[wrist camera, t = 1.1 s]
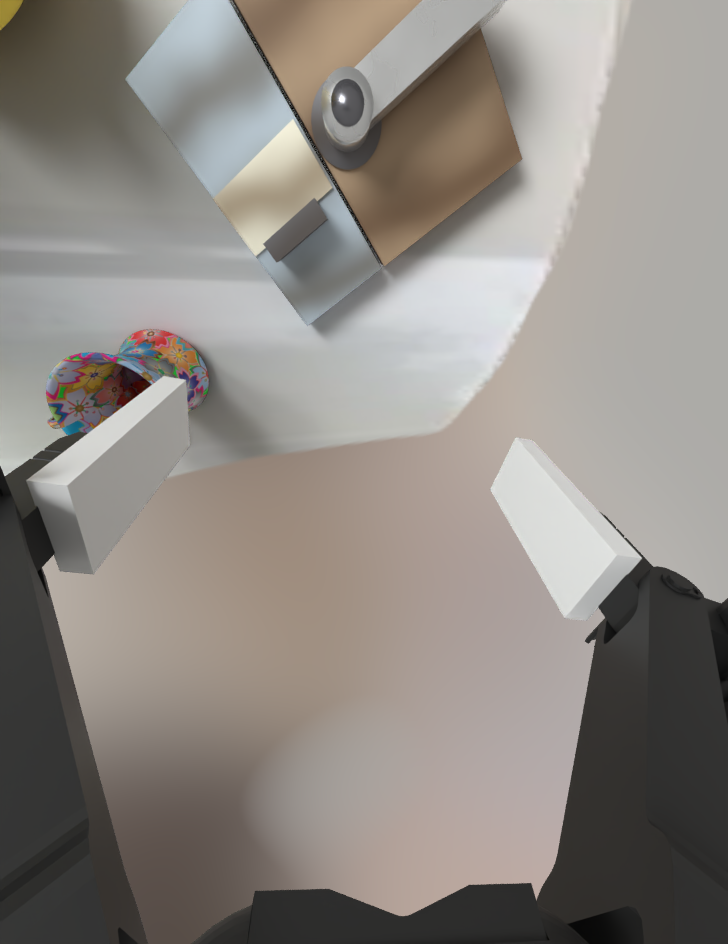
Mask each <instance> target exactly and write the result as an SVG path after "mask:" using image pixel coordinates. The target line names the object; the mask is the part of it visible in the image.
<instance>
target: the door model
mask: <svg viewBox="0 0 728 944" xmlns="http://www.w3.org/2000/svg"><path fill="white" fill-rule="evenodd" d="M421 1H422V0H233V2H234V4H235V5H236V7H237V9H238V11H239V12H240V14H241V16H242V18H243V19H244V21H245V23H246V25H247V26H248V28H249V30H250V32H251V34H252V35H253V37H254V39H255V41H256V42H257V44H258V46H259V48H260V49H261V51H262V53H263V55H264V57H265V58H266V60H267V62H268V64H269V65H270V67H271V69H272V71H273V72H274V74H275V76H276V78H277V79H278V81H279V83H280V85H281V87H282V88H283V90H284V92H285V94H286V95H287V97H288V99H289V101H290V102H291V104H292V106H293V108H294V110H295V111H296V113H297V115H298V117H299V118H300V120H301V122H302V124H303V125H304V127H305V129H306V131H307V133H308V134H309V136H310V138H311V140H312V141H313V143H314V145H315V147H316V148H317V150H318V152H319V154H320V155H321V157H322V159H323V161H324V163H325V164H326V166H327V168H328V170H329V171H330V173H331V175H332V177H333V178H334V180H335V182H336V184H337V186H338V187H339V189H340V191H341V193H342V194H343V196H344V198H345V200H346V201H347V203H348V205H349V207H350V208H351V210H352V212H353V214H354V216H355V217H356V219H357V221H358V223H359V224H360V226H361V228H362V230H363V231H364V233H365V235H366V237H367V239H368V240H369V242H370V244H371V246H372V247H373V249H374V251H375V253H376V254H377V256H378V258H379V260H380V262H381V263H382V265H384V266H385V265H387V264H388V263H389V262H391V261H392V260H393V259H394V258H396V257H397V256H398V255H399V254H401V253H402V252H403V251H405V250H406V249H407V248H408V247H410V246H411V245H412V244H414V243H415V242H416V241H417V240H419V239H420V238H421V237H423V236H424V235H425V234H426V233H428V232H429V231H430V230H432V229H433V228H434V227H435V226H437V225H438V224H439V223H441V222H442V221H443V220H444V219H446V218H447V217H448V216H450V215H451V214H452V213H453V212H455V211H456V210H457V209H459V208H460V207H461V206H462V205H464V204H465V203H466V202H468V201H469V200H470V199H471V198H473V197H474V196H475V195H477V194H478V193H479V192H480V191H482V190H483V189H484V188H486V187H487V186H488V185H489V184H491V183H492V182H493V181H495V180H496V179H497V178H498V177H500V176H501V175H502V174H504V173H505V172H506V171H507V170H509V169H510V168H511V167H513V166H514V165H515V164H516V163H518V162H519V161H520V160H522V157H521V154H520V151H519V147H518V144H517V141H516V138H515V135H514V132H513V129H512V125H511V122H510V119H509V116H508V113H507V110H506V107H505V103H504V100H503V97H502V94H501V91H500V88H499V85H498V81H497V78H496V75H495V72H494V69H493V66H492V63H491V59H490V56H489V53H488V50H487V47H486V44H485V41H484V37H483V34H482V31H481V29H480V30H479V31H478V32H476V33H475V34H474V35H473V36H472V37H471V38H470V39H469V40H468V41H467V42H465V43H464V44H463V45H462V46H461V47H460V48H459V49H458V50H457V51H456V52H455V53H453V54H452V55H451V56H450V57H449V58H448V59H447V60H446V61H445V62H444V63H443V64H441V65H440V66H439V67H438V68H437V69H436V70H435V71H434V72H433V73H432V74H431V75H429V76H428V77H427V78H426V79H425V80H424V81H423V82H422V83H421V84H420V85H419V86H417V87H416V88H415V89H414V90H413V91H412V92H411V93H410V94H409V95H408V96H407V97H405V98H404V99H403V100H402V101H401V102H400V103H399V104H398V105H397V106H396V107H395V108H393V109H392V110H391V111H390V112H389V113H388V114H387V115H386V116H385V117H384V118H383V119H381V120H380V121H379V122H378V123H377V124H376V125H375V126H374V127H373V128H372V129H371V130H369V131H368V134H367V137H366V139H365V141H364V143H363V144H362V145H361V147H360V148H358V149H357V150H355V151H353V152H342V151H340V150H338V149H336V148H335V147H334V146H333V145H332V144H331V142H330V141H329V139H328V137H327V135H326V132H325V127H324V120H323V114H322V107H321V97H322V91H323V87H324V84H325V82H326V80H327V78H328V77H329V76H330V74H331V73H332V72H333V71H335V70H336V69H338V68H340V67H353V68H354V67H355V66H356V65H357V64H358V63H359V62H360V61H361V60H362V59H363V58H364V57H365V56H366V55H367V54H368V53H369V52H370V51H371V50H372V49H373V48H374V47H375V46H376V45H378V44H379V43H380V42H381V41H382V40H383V39H384V38H385V37H386V36H387V35H388V34H389V33H390V32H391V31H392V30H393V29H394V28H395V27H396V26H397V25H398V24H399V23H400V22H401V21H402V20H403V19H404V18H405V17H406V16H407V15H408V14H409V13H410V12H411V11H412V10H413V9H414V8H415V7H416V6H417V5H418V4H419V3H420V2H421ZM125 80H126V81H127V82H128V84H129V85H130V86H131V88H132V89H133V91H134V92H135V93H136V95H137V96H138V97H139V99H140V100H141V101H142V103H143V104H144V105H145V107H146V108H147V110H148V111H149V112H150V114H151V115H152V116H153V118H154V119H155V120H156V122H157V123H158V124H159V126H160V127H161V129H162V130H163V131H164V133H165V134H166V135H167V137H168V138H169V139H170V141H171V142H172V143H173V145H174V146H175V148H176V149H177V150H178V152H179V153H180V154H181V156H182V157H183V158H184V160H185V161H186V162H187V164H188V165H189V166H190V168H191V169H192V171H193V172H194V173H195V175H196V176H197V177H198V179H199V180H200V181H201V183H202V184H203V185H204V187H205V188H206V190H207V191H208V192H209V194H210V195H211V196H212V198H213V200H214V201H215V203H216V204H217V205H218V207H219V208H220V209H221V211H222V212H223V213H224V215H225V216H226V217H227V219H228V220H229V222H230V223H231V224H232V226H233V227H234V228H235V230H236V231H237V232H238V234H239V235H240V236H241V238H242V239H243V240H244V242H245V243H246V245H247V246H248V247H249V249H250V250H251V251H252V253H253V254H254V255H255V257H257V259H258V260H259V261H260V263H261V264H262V265H263V267H264V268H265V270H266V271H267V272H268V274H269V275H270V276H271V278H272V279H273V280H274V282H275V283H276V284H277V286H278V287H279V289H280V290H281V291H282V293H283V294H284V295H285V297H286V298H287V299H288V301H289V302H290V303H291V305H292V306H293V307H294V309H295V310H296V312H297V313H298V314H299V316H300V317H301V318H302V320H303V321H304V322H305V324H306V325H307V326H308V325H310V324H311V323H312V322H313V321H315V320H316V319H317V318H319V317H320V316H321V315H322V314H324V313H325V312H326V311H328V310H329V309H330V308H331V307H333V306H334V305H335V304H337V303H338V302H339V301H340V300H342V299H343V298H344V297H346V296H347V295H348V294H349V293H351V292H352V291H353V290H355V289H356V288H357V287H358V286H360V285H361V284H362V283H364V282H365V281H366V280H367V279H369V278H370V277H371V276H373V275H374V274H375V273H376V272H378V271H379V270H380V269H382V268H381V267H380V265H379V263H378V261H377V260H376V258H375V256H374V254H373V253H372V251H371V249H370V247H369V246H368V244H367V242H366V240H365V239H364V237H363V235H362V233H361V232H360V230H359V228H358V226H357V224H356V223H355V221H354V219H353V217H352V216H351V214H350V212H349V210H348V209H347V207H346V205H345V203H344V202H343V200H342V198H341V196H340V195H339V193H338V191H337V189H336V188H335V186H334V184H333V182H332V181H331V179H330V177H329V175H328V174H327V172H326V170H325V168H324V167H323V165H322V163H321V161H320V160H319V158H318V156H317V154H316V153H315V151H314V149H313V147H312V146H311V144H310V142H309V140H308V139H307V137H306V135H305V133H304V132H303V130H302V128H301V126H300V124H299V123H298V121H297V119H296V117H295V116H294V114H293V112H292V110H291V109H290V107H289V105H288V103H287V102H286V100H285V98H284V96H283V95H282V93H281V91H280V89H279V88H278V86H277V84H276V82H275V81H274V79H273V77H272V75H271V74H270V72H269V70H268V68H267V67H266V65H265V63H264V61H263V60H262V58H261V56H260V54H259V53H258V51H257V49H256V47H255V46H254V44H253V42H252V40H251V39H250V37H249V35H248V33H247V32H246V30H245V28H244V26H243V24H242V23H241V21H240V19H239V17H238V16H237V14H236V12H235V10H234V9H233V7H232V5H231V3H230V2H229V0H188V1H187V2H186V4H185V5H184V6H183V7H182V9H181V10H180V11H179V12H178V14H177V15H176V16H175V17H174V19H173V20H172V21H171V22H170V24H169V25H168V26H167V27H166V29H165V30H164V31H163V32H162V34H161V35H160V36H159V37H158V39H157V40H156V41H155V42H154V44H153V45H152V46H151V47H150V49H149V50H148V51H147V52H146V54H145V55H144V56H143V57H142V59H141V60H140V61H139V62H138V64H137V65H136V66H135V67H134V69H133V70H132V71H131V72H130V74H129V75H128V76H127V77H126V79H125Z"/></svg>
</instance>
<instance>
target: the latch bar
mask: <svg viewBox="0 0 728 944" xmlns="http://www.w3.org/2000/svg"><path fill="white" fill-rule="evenodd" d="M506 1H507V0H422V1H421V2H420V3H419V4H418V5H417V6H416V7H415V8H414V9H413V10H412V11H411V12H410V13H409V14H408V15H407V16H406V17H405V18H404V19H403V20H402V21H401V22H400V23H399V24H398V25H397V26H396V27H395V28H394V29H393V30H392V31H391V32H390V33H389V34H388V35H387V36H386V37H385V38H384V39H383V40H382V41H381V42H380V43H379V44H378V45H376V46H375V47H374V48H373V49H372V50H371V51H370V52H369V53H368V54H367V55H366V56H365V57H364V58H363V59H362V60H361V61H360V62H359V63H358V64H357V65H356V66H355V67H354V68H353V67H340V68H338V69H336V70H335V71H333V72H332V73H331V74H330V76H329V77H328V78H327V80H326V82H325V84H324V87H323V91H322V97H321V107H322V114H323V120H324V127H325V132H326V135H327V137H328V139H329V141H330V142H331V144H332V145H333V146H334V147H335V148H336V149H338V150H340V151H342V152H353V151H355V150H357V149H358V148H360V147H361V145H362V144H363V143H364V141H365V139H366V137H367V134H368V131H369V130H371V129H372V128H373V127H374V126H375V125H376V124H377V123H378V122H379V121H380V120H381V119H383V118H384V117H385V116H386V115H387V114H388V113H389V112H390V111H391V110H392V109H393V108H395V107H396V106H397V105H398V104H399V103H400V102H401V101H402V100H403V99H404V98H405V97H407V96H408V95H409V94H410V93H411V92H412V91H413V90H414V89H415V88H416V87H417V86H419V85H420V84H421V83H422V82H423V81H424V80H425V79H426V78H427V77H428V76H429V75H431V74H432V73H433V72H434V71H435V70H436V69H437V68H438V67H439V66H440V65H441V64H443V63H444V62H445V61H446V60H447V59H448V58H449V57H450V56H451V55H452V54H453V53H455V52H456V51H457V50H458V49H459V48H460V47H461V46H462V45H463V44H464V43H465V42H467V41H468V40H469V39H470V38H471V37H472V36H473V35H474V34H475V33H476V32H478V31H479V30H480V29H481V28H482V27H483V26H484V25H485V24H486V23H487V22H488V21H490V20H491V19H492V18H493V17H494V16H495V15H496V14H497V13H498V12H499V11H500V9H501V8H502V7H503V5H504V4H505V2H506Z"/></svg>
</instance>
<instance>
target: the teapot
mask: <svg viewBox="0 0 728 944" xmlns="http://www.w3.org/2000/svg"><path fill="white" fill-rule="evenodd" d="M22 2H23V0H0V30H1V29H2V28H3V27H4V26H5V25H6V24H7V23H8V22H9V21H10V20H11V19H12V18H13V16H14V15H15V13H16V12H17V11H18V9H19V8H20V6H21V4H22Z"/></svg>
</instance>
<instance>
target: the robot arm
mask: <svg viewBox="0 0 728 944" xmlns="http://www.w3.org/2000/svg"><path fill="white" fill-rule="evenodd" d="M189 446H190V432H189V417H188V402H187V387H186V380H184V379H178V378H172V377H167V376H163V377H162V378H160V379H159V380H158V381H156V382H155V383H154V384H152V385H151V386H150V387H149V388H147V389H146V390H145V391H143V392H142V393H141V394H139V395H138V396H137V397H135V398H134V399H133V400H131V401H130V402H129V403H127V404H126V405H125V406H124V407H122V408H121V409H120V410H118V411H117V412H116V413H114V414H113V415H112V416H110V417H109V418H108V419H106V420H105V421H104V422H102V423H101V424H100V425H98V426H97V427H96V428H95V429H93V430H92V431H91V432H89V433H84V432H76V433H74V434H71V435H68V436H65V437H63V438H60V439H58V440H56V441H55V442H54V443H52V444H51V445H49V446H48V447H46V448H45V451H41V452H39V453H38V454H36V455H35V456H34V457H33V459H29V460H28V461H26V462H25V463H24V464H22V465H21V466H19V467H18V468H16V469H15V470H14V471H12V472H11V473H9V474H8V475H7V476H4V474H3V472H2V469H1V467H0V944H148V942H147V939H146V935H145V931H144V928H143V924H142V921H141V917H140V914H139V911H138V907H137V904H136V901H135V898H134V896H133V893H132V890H131V887H130V884H129V882H128V879H127V876H126V873H125V870H124V866H123V862H122V859H121V855H120V851H119V848H118V844H117V840H116V836H115V833H114V829H113V825H112V822H111V818H110V814H109V810H108V807H107V803H106V799H105V796H104V792H103V788H102V784H101V781H100V777H99V773H98V770H97V766H96V762H95V759H94V755H93V751H92V747H91V744H90V740H89V736H88V732H87V729H86V725H85V721H84V718H83V714H82V711H81V707H80V703H79V699H78V696H77V692H76V688H75V684H74V681H73V677H72V673H71V670H70V666H69V662H68V658H67V655H66V651H65V647H64V644H63V640H62V636H61V632H60V629H59V625H58V621H57V618H56V614H55V610H54V606H53V603H52V599H51V596H50V592H49V588H48V584H47V580H46V577H45V574H44V572H43V569H42V567H43V566H44V564H45V563H46V562H47V561H48V560H49V559H50V558H51V557H52V556H53V555H54V556H55V559H56V562H57V565H58V567H59V570H60V571H64V572H74V573H84V574H94V573H95V572H96V571H97V569H98V568H99V567H100V565H101V564H102V563H103V561H104V560H105V558H106V557H107V556H108V555H109V553H110V552H111V551H112V549H113V548H114V547H115V545H116V544H117V543H118V541H119V540H120V539H121V537H122V536H123V535H124V533H125V532H126V531H127V529H128V528H129V527H130V525H131V524H132V523H133V521H134V520H135V518H136V517H137V516H138V515H139V513H140V512H141V511H142V509H143V508H144V507H145V505H146V504H147V503H148V501H149V500H150V499H151V497H152V496H153V495H154V493H155V492H156V490H157V489H158V488H159V486H160V485H161V484H162V482H163V481H164V480H165V478H166V477H167V476H168V474H169V473H170V472H171V470H172V469H173V468H174V466H175V465H176V464H177V462H178V461H179V460H180V458H181V457H182V456H183V454H184V453H185V452H186V450H187V449H188V448H189ZM490 490H491V492H492V494H493V495H494V497H495V499H496V501H497V502H498V504H499V506H500V508H501V509H502V511H503V513H504V514H505V516H506V518H507V520H508V521H509V523H510V525H511V527H512V528H513V530H514V531H515V534H516V535H517V537H518V539H519V540H520V542H521V544H522V546H523V547H524V549H525V551H526V553H527V554H528V556H529V558H530V559H531V561H532V563H533V565H534V566H535V568H536V570H537V571H538V573H539V575H540V577H541V579H542V580H543V582H544V584H545V585H546V587H547V589H548V590H549V592H550V594H551V596H552V598H553V599H554V601H555V603H556V604H557V606H558V608H559V610H560V611H561V613H562V615H563V617H564V618H565V619H575V620H588V619H589V618H590V617H591V615H592V614H593V613H594V612H595V611H596V610H597V609H598V608H599V609H600V610H601V612H602V613H603V614H604V616H605V619H604V620H603V621H602V622H601V623H600V624H599V625H598V626H597V627H596V628H595V629H594V630H593V632H592V633H591V634H590V635H589V636H588V637H587V638H586V640H585V642H587V643H590V641H591V640H595V639H596V642H595V646H594V647H595V648H594V653H593V660H592V665H591V670H590V676H589V681H588V687H587V693H586V698H585V704H584V709H583V715H582V720H581V726H580V731H579V737H578V743H577V748H576V754H575V759H574V765H573V771H572V776H571V782H570V787H569V793H568V798H567V804H566V809H565V815H564V821H563V826H562V832H561V837H560V843H559V849H558V854H557V858H556V862H555V865H554V867H553V869H552V872H551V873H550V875H549V876H548V878H547V880H546V881H545V883H544V884H543V886H542V888H541V891H540V893H539V895H538V898H537V901H536V898H535V895H534V891H533V888H532V885H531V883H524V884H523V883H522V884H487V885H468V886H466V887H464V888H463V889H460V890H459V891H457V892H455V893H453V894H451V895H449V896H447V897H445V898H443V899H441V900H439V901H437V902H435V903H433V904H431V905H429V906H427V907H425V908H423V909H421V910H419V911H417V912H415V913H413V914H411V915H409V916H398V915H394V914H392V913H389V912H387V911H384V910H382V909H379V908H377V907H374V906H371V905H369V904H366V903H364V902H361V901H358V900H356V899H353V898H351V897H348V896H346V895H343V894H340V893H338V892H335V891H333V890H330V889H312V890H275V891H255V894H254V898H253V903H252V905H251V906H249V907H246V908H244V909H242V910H240V911H237V912H235V913H233V914H231V915H230V916H228V917H226V918H225V919H224V920H222V921H220V922H219V923H217V924H215V925H214V926H212V927H211V928H210V929H209V930H208V931H206V932H205V933H204V934H203V935H202V936H201V937H199V938H198V939H197V940H195V941H194V942H193V943H192V944H728V598H727V599H726V600H725V601H724V602H723V603H722V604H721V603H718V602H715V601H712V600H709V599H706V598H704V596H703V594H702V593H701V592H700V590H699V589H698V588H697V587H696V586H695V585H694V584H692V583H691V582H690V581H689V580H687V579H686V578H685V577H683V576H681V575H680V574H677V573H676V572H674V571H671V570H669V569H667V568H663V567H653V566H652V565H651V564H650V563H649V562H648V561H647V560H646V559H645V557H643V555H642V554H641V553H640V552H639V551H638V550H637V549H636V548H635V547H634V546H633V545H632V544H631V543H630V542H629V540H628V539H627V538H624V535H623V534H622V533H621V532H620V531H619V530H618V529H616V527H615V526H614V524H612V522H611V521H610V520H609V519H608V518H607V517H606V516H605V515H603V514H602V513H601V512H599V511H598V510H597V509H596V508H595V507H594V506H593V505H592V504H591V503H590V501H589V500H587V498H586V497H585V496H584V495H583V494H582V493H581V492H580V491H579V490H578V489H577V488H576V486H575V485H574V484H573V483H572V482H571V481H570V480H569V479H568V478H567V477H566V476H565V475H564V474H563V473H562V471H561V470H560V469H559V468H558V467H557V466H556V465H555V464H554V463H553V462H552V461H551V460H550V458H549V457H548V456H547V455H546V454H545V453H544V452H543V451H542V450H541V449H540V448H539V447H538V446H537V444H536V443H535V442H534V441H533V440H529V439H523V438H517V437H516V438H515V440H514V442H513V444H512V446H511V448H510V450H509V452H508V454H507V456H506V459H505V460H504V463H503V464H502V467H501V469H500V471H499V473H498V475H497V477H496V479H495V481H494V483H493V485H492V487H491V489H490Z"/></svg>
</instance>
